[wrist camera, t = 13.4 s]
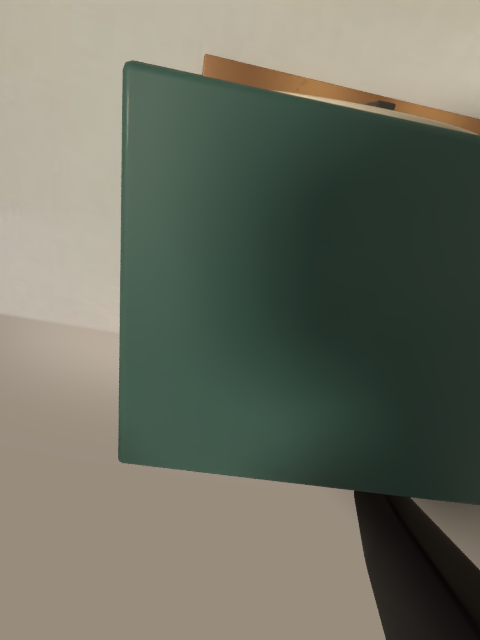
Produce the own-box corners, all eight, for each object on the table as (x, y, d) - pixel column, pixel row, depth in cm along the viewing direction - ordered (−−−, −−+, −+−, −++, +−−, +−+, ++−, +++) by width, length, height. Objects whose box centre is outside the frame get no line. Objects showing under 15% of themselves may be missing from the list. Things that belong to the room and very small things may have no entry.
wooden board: (180, 274, 19) (179, 278, 19) (205, 55, 14) (204, 53, 14) (413, 314, 21) (417, 319, 20) (506, 127, 16) (515, 127, 15)
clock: (315, 451, 15) (961, 641, 2) (167, 432, 15) (-28, 548, 2) (331, 194, 19) (613, -268, 6) (214, 171, 18) (256, -387, 6)
